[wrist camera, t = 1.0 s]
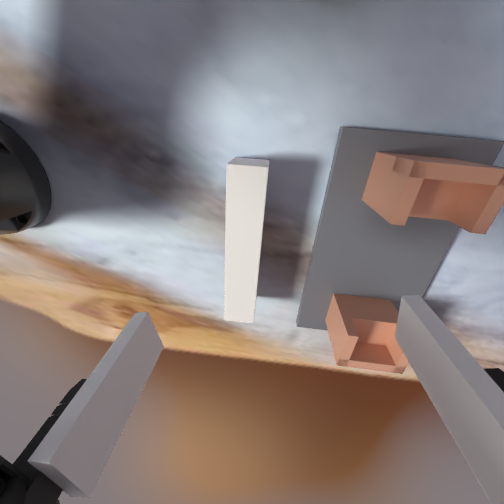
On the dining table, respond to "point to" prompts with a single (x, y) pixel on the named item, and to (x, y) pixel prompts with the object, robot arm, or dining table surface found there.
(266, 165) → the slat
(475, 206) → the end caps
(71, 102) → the dining table surface
